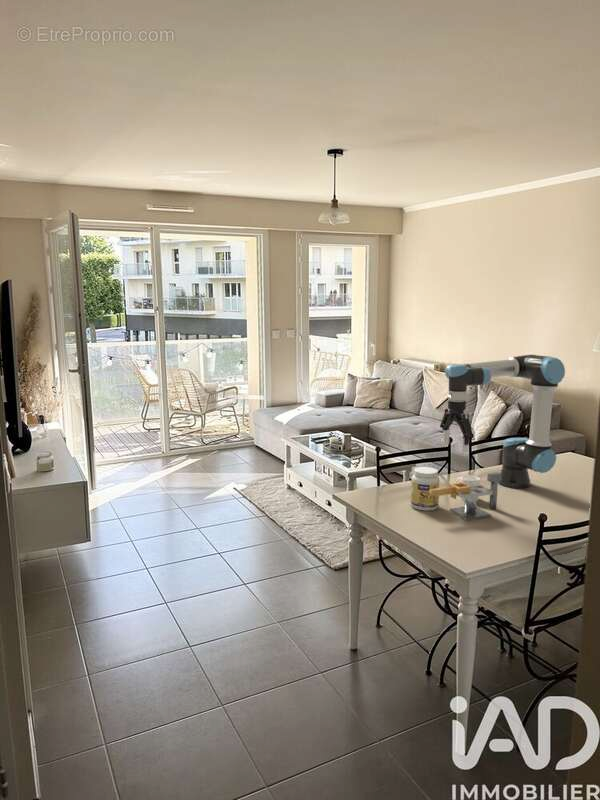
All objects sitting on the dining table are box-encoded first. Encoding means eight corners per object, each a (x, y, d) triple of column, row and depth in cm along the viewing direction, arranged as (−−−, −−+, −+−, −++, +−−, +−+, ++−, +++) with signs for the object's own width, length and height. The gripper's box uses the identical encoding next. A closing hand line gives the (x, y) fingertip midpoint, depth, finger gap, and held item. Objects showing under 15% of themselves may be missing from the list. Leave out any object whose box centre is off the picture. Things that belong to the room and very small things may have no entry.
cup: (471, 503, 266) (472, 481, 265) (449, 496, 276) (450, 475, 274) (482, 499, 271) (483, 478, 270) (461, 492, 281) (462, 472, 279)
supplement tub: (416, 512, 256) (417, 474, 253) (406, 502, 268) (407, 466, 265) (442, 510, 258) (444, 473, 255) (432, 501, 270) (433, 465, 267)
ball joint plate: (472, 507, 262) (473, 481, 260) (491, 516, 251) (492, 489, 249) (444, 511, 257) (445, 485, 254) (462, 521, 245) (463, 494, 243)
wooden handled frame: (460, 493, 254) (461, 482, 254) (470, 498, 249) (470, 486, 248) (426, 498, 248) (427, 487, 247) (435, 503, 242) (435, 492, 241)
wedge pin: (495, 506, 262) (497, 472, 259) (500, 509, 259) (502, 474, 257) (485, 508, 260) (487, 473, 257) (489, 510, 257) (491, 475, 255)
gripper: (433, 396, 265) (431, 442, 268) (467, 406, 242) (465, 456, 246) (447, 395, 267) (445, 440, 271) (483, 404, 244) (480, 454, 248)
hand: (455, 448), depth 258 cm, fingers open, 13 cm apart
